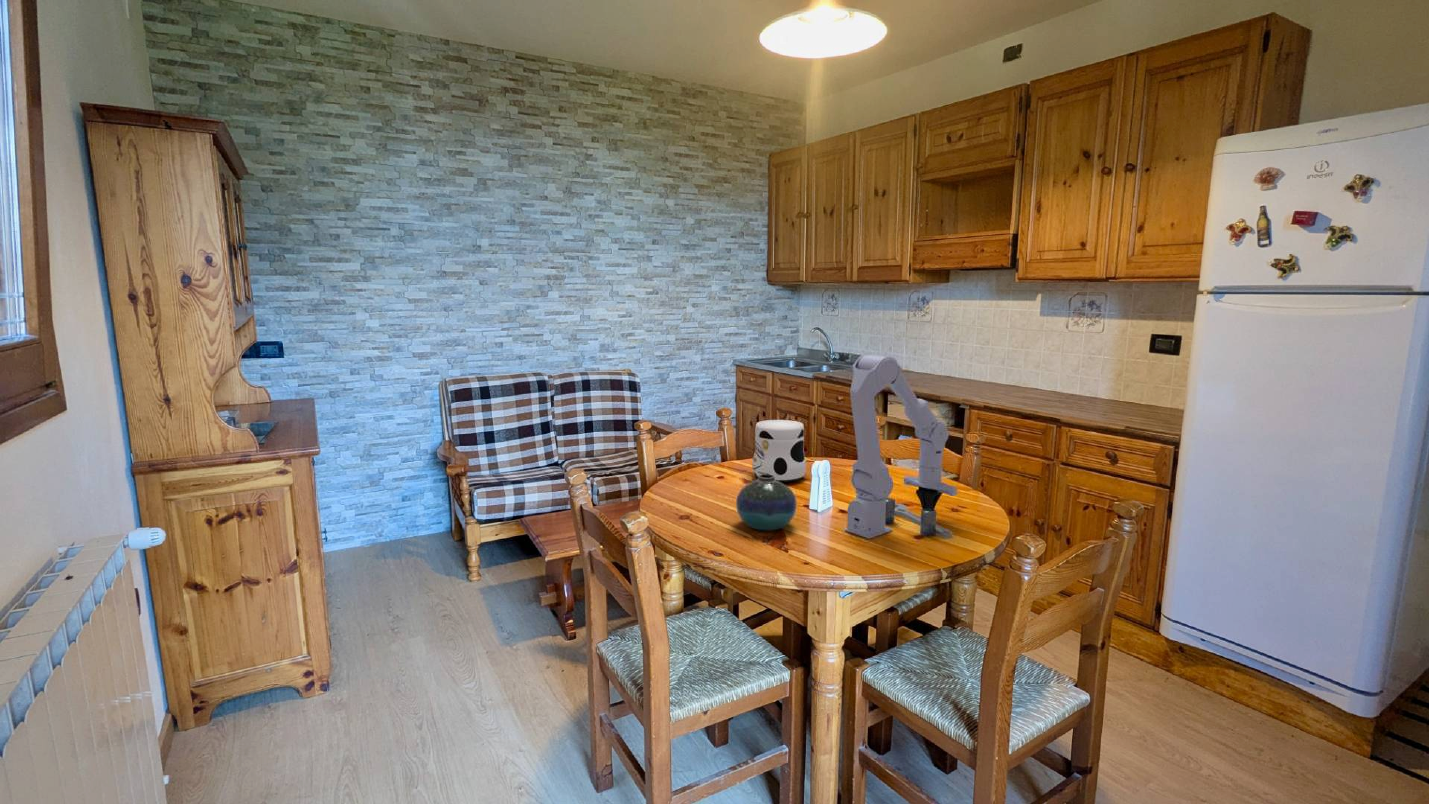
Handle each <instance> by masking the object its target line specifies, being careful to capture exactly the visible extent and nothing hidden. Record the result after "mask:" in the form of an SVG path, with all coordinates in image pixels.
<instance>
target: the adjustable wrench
mask: <svg viewBox="0 0 1429 804" xmlns="http://www.w3.org/2000/svg"><path fill="white" fill-rule="evenodd" d="M895 516H896V517H901V518H903V519H906V520H908V521H910V522H912V523H914V524H916V525H917V526H920V524H921V515H917V514H915V513H913V512H911V511H910V510H909V508H908V506H906V505H904V504H903V503H897V502H895ZM895 516H894V517H895ZM935 535H938V536H940V537H941V538H944V539H952V538H953V532H952V531H950V529H947V528H944V527H942V526H940V525H938V524H936V531H935Z"/></svg>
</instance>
